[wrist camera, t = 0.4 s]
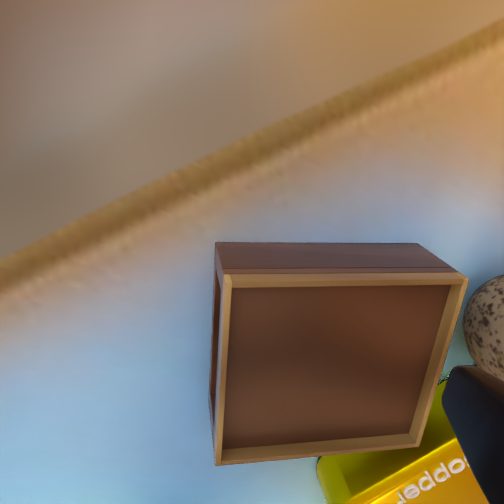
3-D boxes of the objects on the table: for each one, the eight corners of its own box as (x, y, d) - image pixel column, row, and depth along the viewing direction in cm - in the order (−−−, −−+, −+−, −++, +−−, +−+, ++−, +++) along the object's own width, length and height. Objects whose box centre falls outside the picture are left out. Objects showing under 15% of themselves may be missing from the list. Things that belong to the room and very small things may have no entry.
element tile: (487, 352, 29) (542, 401, 25) (536, 467, 36) (587, 522, 31) (304, 460, 30) (326, 524, 26) (383, 553, 37) (411, 618, 32)
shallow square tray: (382, 391, 29) (419, 447, 25) (208, 402, 27) (215, 466, 22) (417, 243, 25) (469, 279, 20) (215, 241, 23) (225, 282, 18)
